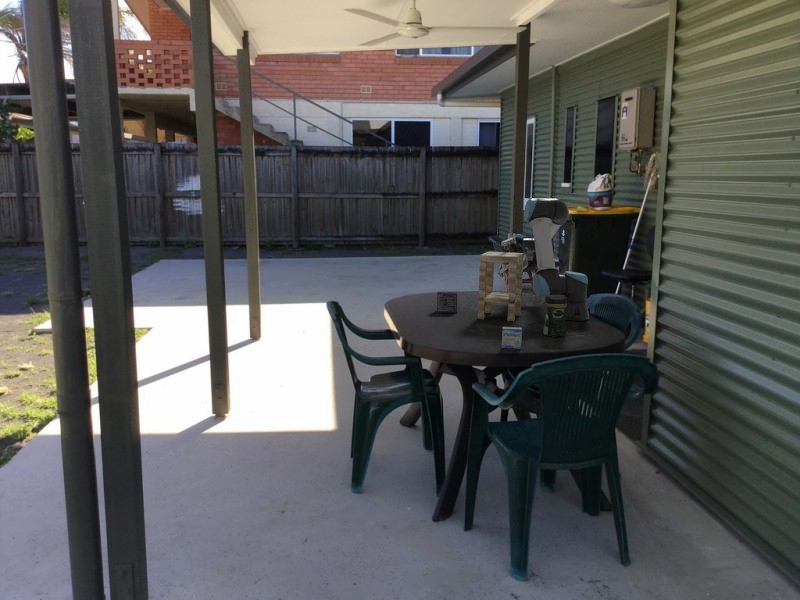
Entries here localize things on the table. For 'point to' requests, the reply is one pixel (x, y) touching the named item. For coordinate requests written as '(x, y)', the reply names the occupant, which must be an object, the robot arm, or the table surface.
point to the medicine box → (511, 337)
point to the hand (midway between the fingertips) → (511, 235)
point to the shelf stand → (487, 283)
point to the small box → (446, 302)
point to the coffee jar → (555, 315)
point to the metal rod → (507, 242)
